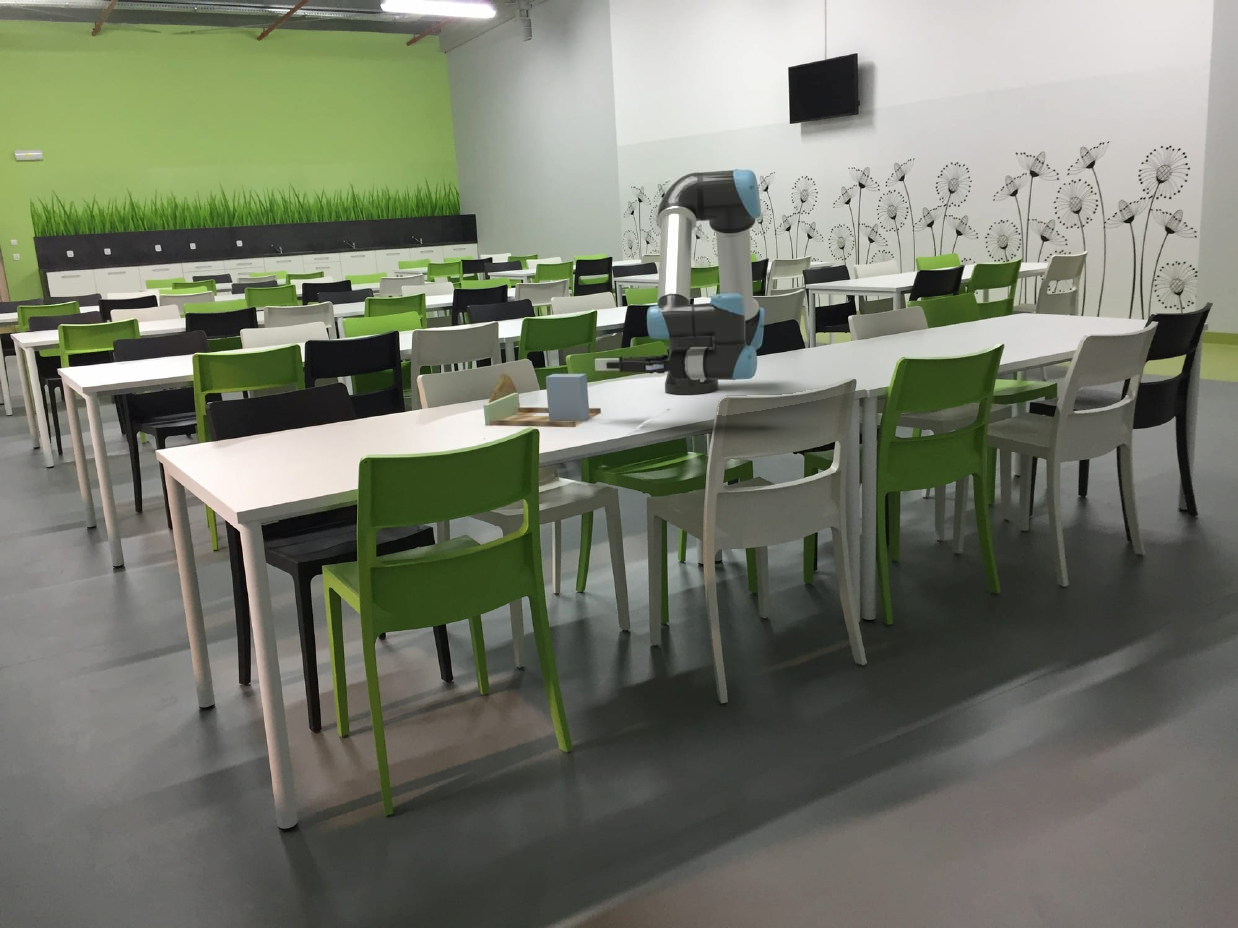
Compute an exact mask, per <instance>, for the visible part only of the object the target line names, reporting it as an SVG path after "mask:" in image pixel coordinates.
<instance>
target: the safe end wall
mask: <svg viewBox="0 0 1238 928" xmlns="http://www.w3.org/2000/svg"><path fill="white" fill-rule="evenodd" d="M519 395H520V394H519V392H517V393H513V394H510V395H508V396H505V397H503V398H500V399H498V400H495V401H493V402H490V403H489V402H488V403H485V404H483V414H484V423H485V424H484V425H485V426H491V425H490V423H489V420H503V419H505V418H507V417H509V416H512V415H514V414H516V413H518V412H519V410H518V408H519V407H521V406H520V405H521V404H520V405H519V403H520V396H519Z"/></svg>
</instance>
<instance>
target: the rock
mask: <svg viewBox="0 0 1238 928" xmlns="http://www.w3.org/2000/svg"><path fill="white" fill-rule="evenodd" d="M513 393H518V391H517V388H516V386H515V384H514V383H513V380H512V378H511V376H510V375H508V374H506V373H501V374H500V377H499V379H498V380H497V382H496V383H495V387H494V389H493V392H492V394H491V395H490V398H489V399H488V400H489V401H488V403H490V402H493V401H495V400H498V399H500V398H503V397H505V396H508V395H510V394H513ZM519 405H521V404H520V402H519Z"/></svg>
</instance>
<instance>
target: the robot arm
mask: <svg viewBox="0 0 1238 928" xmlns="http://www.w3.org/2000/svg"><path fill="white" fill-rule="evenodd" d="M761 206H762V205H761V199H760V191H759V184H758V180H757V175H756V174H755V172H754V171H753V170H750V169H738V168H735V169H733V170H719V171H718V170H717V171H704V172H702V171H701V172H699V171H697V172H692V173H688V174H685V175H683V176H681V177H680V178H679V179H677V180H676V181H675V182H674V183H673V184H671V186H670V187H669V188H668V189H667V190H666V192H665V194H664V195H663V197H662V199H661V201H660V202H659V206H658V210H657V221H656V222H657V226H658V227H659V229H660V240H659V242H660V244H659V264H658V265H659V266H658V267H659V268H658V282H657V283H658V285H657V287H658V288H657V300H656V301H657V305H655V306H649V307H648V309H647V312H646V313H647V314H646V326H647V333H648V336H649V337H650V338H651V339H653V340H654V339H655V340H668V353H669V354H661V355H651V356H628V357H624V358H623V356H619V357H618V358H615V357H614V358H610V357H609V358H596V359H594V371H600V372H601V371H605V372H606V371H608V372H609V371H619V373H620V372H621V373H647V374H655V373H657V374H665V373H667V374H666V377H665V381H664V391H665V393H667V394H670V395H671V394H672V395H700V394H705V393H706V394H707V393H712V392H715V391H718V390H719V381H720V380H721V381H723V380H724V381H726V380H727V381H729V380H730V381H736V380H750V379H752V378H753V377H754V376H755V375H756V373H757V368H758V356H757V350H759V349H760V348H761V347H762V344H763V339H764V331H765V330H764V327H765V309H764V307H760V305H759V302H758V301H757V299H755V298H754V296H753V295H754V291H753V289H754V288H753V271H752V267H753V266H752V252H751V251H752V250H751V249H752V248H751V247H752V246H751V228H753V227H754V225H755V224H756V219H757V218H759V217H761V216H762V207H761ZM699 221H700V222H705V221H706V222H707V221H709V223H708V224H709V227H710V229H711V230H712V231H713V232H715V235H716V236H715V239H716V251H717V263H718V264H717V265H718V275H719V290H720V291H719V292H720V293H719V294H718V293H717V294H713V295H711V297H710V302H705V303H696V304H695V303H693V304H691V281H692V280H691V278H692V277H691V275H692V247H693V246H692V241H693V239H692V238H693V230H694V229H695V227H696V225H697V222H699Z"/></svg>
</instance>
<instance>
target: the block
mask: <svg viewBox="0 0 1238 928" xmlns="http://www.w3.org/2000/svg"><path fill="white" fill-rule="evenodd" d="M587 376H588V375H587V373H552V374H550V375H546V377H545V385H546V397H547V408H548V412H549V413H548V416H549V421H584V420H586V419H588V418H590V416H589V408H590V407H589V405H590V404H589V390H588V388H589V387H588V377H587Z"/></svg>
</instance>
